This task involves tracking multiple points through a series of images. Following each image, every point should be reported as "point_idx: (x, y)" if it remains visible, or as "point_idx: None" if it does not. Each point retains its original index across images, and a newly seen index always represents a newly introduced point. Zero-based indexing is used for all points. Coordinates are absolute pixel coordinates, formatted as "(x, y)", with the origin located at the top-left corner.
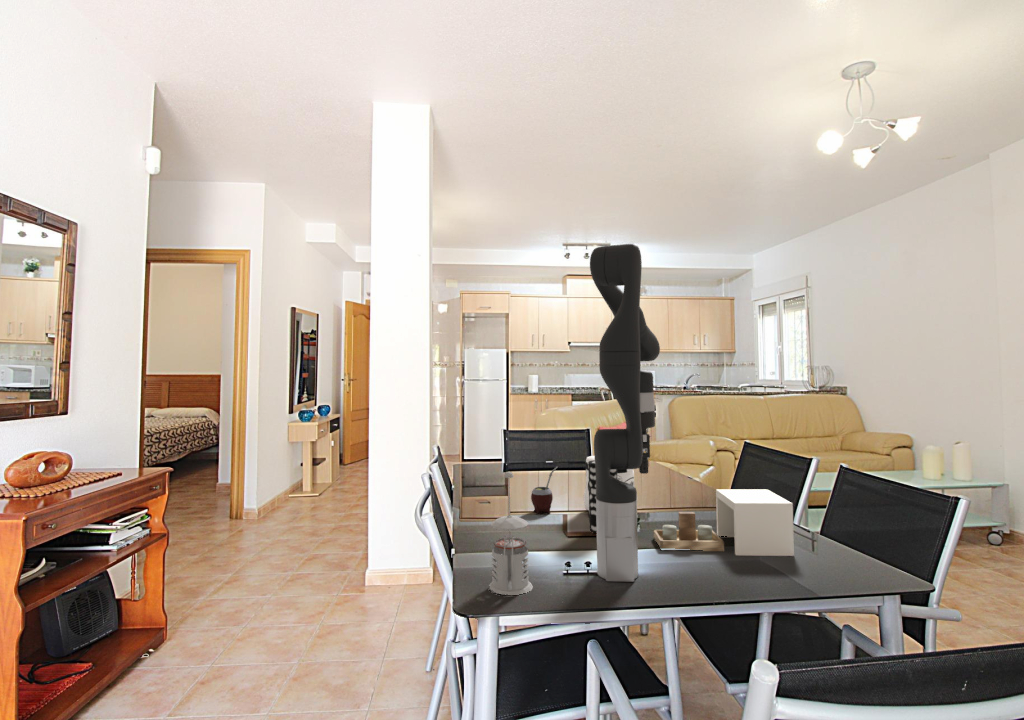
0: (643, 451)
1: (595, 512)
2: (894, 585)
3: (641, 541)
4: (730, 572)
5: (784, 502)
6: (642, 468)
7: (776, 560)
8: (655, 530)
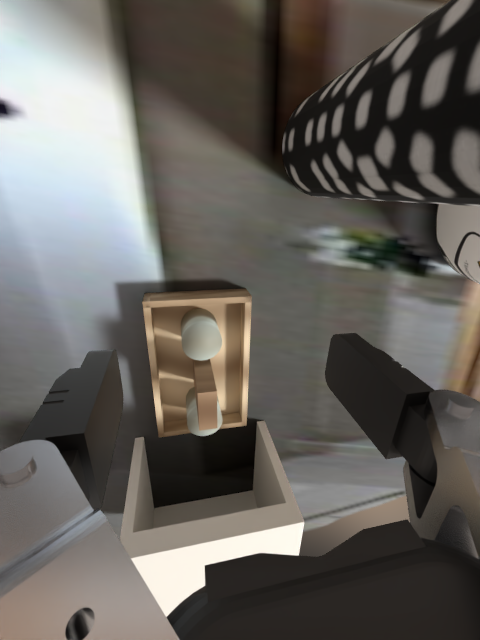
0: (407, 490)
1: (329, 87)
2: None
3: (223, 253)
4: (11, 416)
5: None
6: (51, 394)
7: (116, 490)
8: (244, 301)
